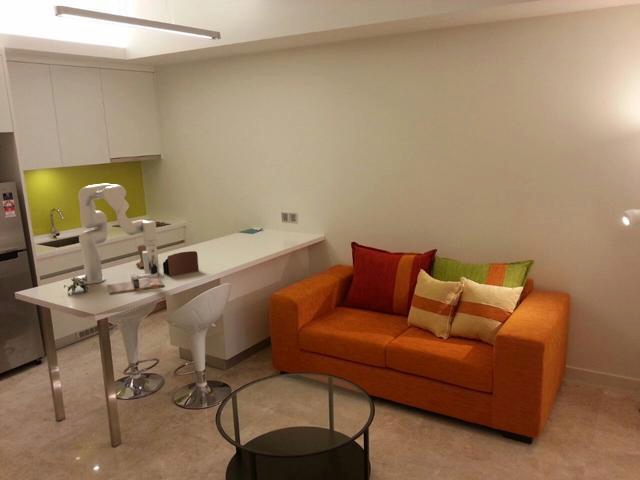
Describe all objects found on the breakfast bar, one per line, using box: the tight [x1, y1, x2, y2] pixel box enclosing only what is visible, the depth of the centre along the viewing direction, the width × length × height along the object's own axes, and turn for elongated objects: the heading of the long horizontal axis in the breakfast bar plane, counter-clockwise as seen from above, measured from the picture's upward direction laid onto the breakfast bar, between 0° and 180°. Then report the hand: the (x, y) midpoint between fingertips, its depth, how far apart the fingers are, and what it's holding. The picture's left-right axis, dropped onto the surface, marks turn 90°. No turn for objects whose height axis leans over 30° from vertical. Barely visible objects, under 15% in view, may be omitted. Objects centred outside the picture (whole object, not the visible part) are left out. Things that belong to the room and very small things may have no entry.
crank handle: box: [132, 263, 159, 280], centre depth 313 cm, size 14×4×8 cm, turn 118°
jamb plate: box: [106, 273, 165, 296], centre depth 317 cm, size 30×18×6 cm, turn 115°
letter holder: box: [162, 250, 200, 278], centre depth 345 cm, size 10×20×14 cm, turn 127°
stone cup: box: [135, 243, 147, 269], centre depth 366 cm, size 15×12×15 cm
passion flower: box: [63, 276, 90, 295], centre depth 308 cm, size 11×11×12 cm
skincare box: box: [142, 251, 160, 274], centre depth 345 cm, size 8×6×15 cm
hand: (153, 271), depth 315 cm, fingers open, 9 cm apart
